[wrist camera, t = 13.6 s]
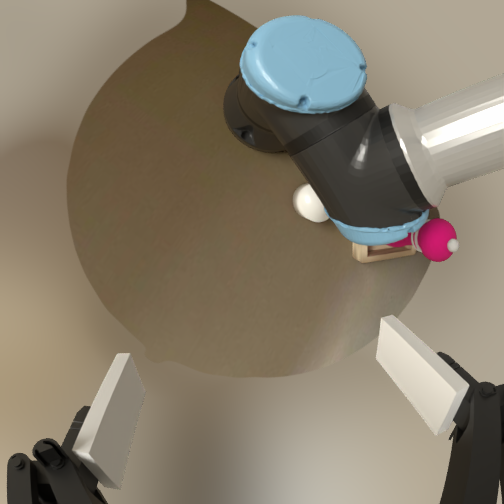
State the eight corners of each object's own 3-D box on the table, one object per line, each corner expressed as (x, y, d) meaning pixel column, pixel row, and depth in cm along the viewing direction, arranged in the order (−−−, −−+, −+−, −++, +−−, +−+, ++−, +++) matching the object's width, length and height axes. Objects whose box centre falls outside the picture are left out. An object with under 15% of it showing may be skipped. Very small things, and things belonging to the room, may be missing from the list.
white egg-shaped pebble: (306, 225, 47) (316, 229, 44) (285, 198, 45) (294, 201, 42) (331, 202, 47) (342, 205, 44) (311, 175, 45) (322, 175, 41)
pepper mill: (386, 194, 47) (464, 207, 28) (403, 225, 49) (478, 250, 29) (359, 218, 47) (431, 243, 28) (378, 249, 49) (448, 285, 30)
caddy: (350, 191, 47) (360, 192, 43) (404, 189, 48) (416, 190, 44) (352, 257, 50) (362, 263, 46) (403, 249, 51) (415, 254, 47)
